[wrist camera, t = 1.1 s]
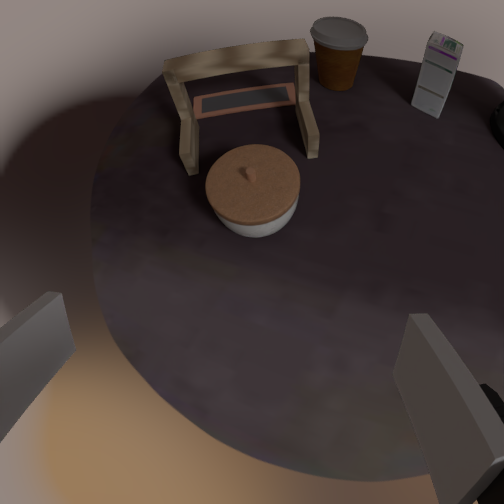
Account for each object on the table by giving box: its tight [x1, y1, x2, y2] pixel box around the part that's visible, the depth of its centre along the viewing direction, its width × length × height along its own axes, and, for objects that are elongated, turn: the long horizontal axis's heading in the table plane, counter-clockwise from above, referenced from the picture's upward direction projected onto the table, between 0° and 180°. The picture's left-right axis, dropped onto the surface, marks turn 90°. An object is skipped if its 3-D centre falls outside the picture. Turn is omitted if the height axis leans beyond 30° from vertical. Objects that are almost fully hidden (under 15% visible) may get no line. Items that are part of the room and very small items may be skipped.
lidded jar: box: [205, 144, 300, 237], centre depth 39 cm, size 11×11×9 cm
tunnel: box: [162, 39, 319, 176], centre depth 41 cm, size 19×10×14 cm, turn 95°
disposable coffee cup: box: [310, 17, 368, 91], centre depth 46 cm, size 10×10×12 cm
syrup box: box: [411, 31, 463, 119], centre depth 41 cm, size 6×6×14 cm
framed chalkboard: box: [193, 83, 296, 119], centre depth 52 cm, size 18×6×1 cm, turn 95°
